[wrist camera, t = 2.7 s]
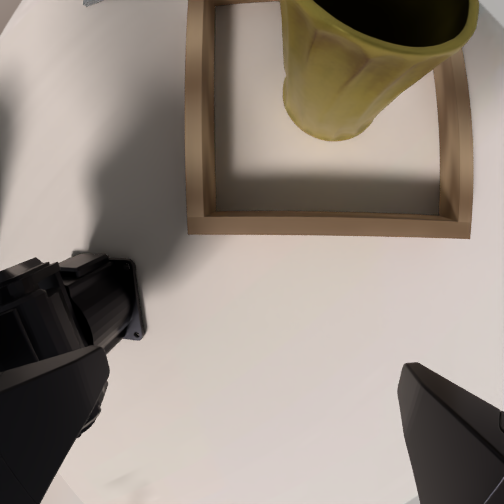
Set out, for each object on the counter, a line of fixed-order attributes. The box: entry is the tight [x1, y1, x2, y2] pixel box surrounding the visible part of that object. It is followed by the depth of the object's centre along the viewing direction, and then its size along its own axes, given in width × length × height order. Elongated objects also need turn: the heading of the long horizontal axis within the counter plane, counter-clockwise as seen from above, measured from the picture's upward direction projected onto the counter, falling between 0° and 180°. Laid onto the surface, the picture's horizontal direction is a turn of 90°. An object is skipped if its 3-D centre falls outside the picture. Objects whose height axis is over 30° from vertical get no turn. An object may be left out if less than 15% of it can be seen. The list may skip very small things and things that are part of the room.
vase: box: [280, 0, 479, 141], centre depth 11 cm, size 6×6×14 cm
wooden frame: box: [185, 0, 473, 239], centre depth 17 cm, size 17×17×3 cm
